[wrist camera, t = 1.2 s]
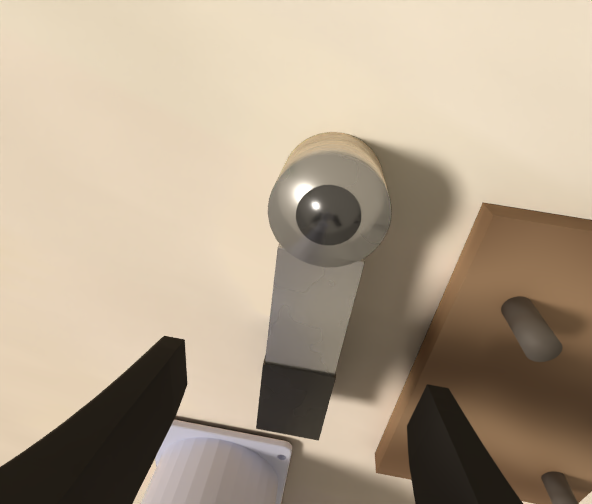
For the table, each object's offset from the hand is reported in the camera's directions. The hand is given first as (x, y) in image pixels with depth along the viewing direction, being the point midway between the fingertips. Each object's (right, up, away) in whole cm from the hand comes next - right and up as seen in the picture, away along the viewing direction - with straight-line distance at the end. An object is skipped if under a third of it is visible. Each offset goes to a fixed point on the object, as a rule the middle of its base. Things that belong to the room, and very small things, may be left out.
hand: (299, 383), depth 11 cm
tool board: (+10, -2, +5) cm, 11 cm away
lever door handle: (+1, +3, +4) cm, 5 cm away
